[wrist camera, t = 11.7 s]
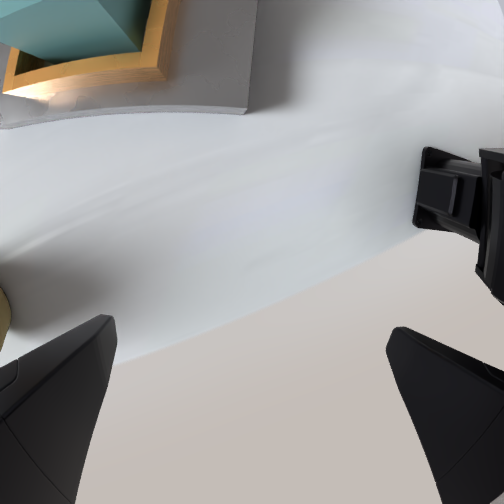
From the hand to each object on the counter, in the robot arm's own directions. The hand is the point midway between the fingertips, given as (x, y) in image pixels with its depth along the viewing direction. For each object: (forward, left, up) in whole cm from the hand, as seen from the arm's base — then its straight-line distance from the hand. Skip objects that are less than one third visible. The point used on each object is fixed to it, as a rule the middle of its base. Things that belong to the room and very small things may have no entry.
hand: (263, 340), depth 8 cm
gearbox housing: (+9, -14, -12) cm, 20 cm away
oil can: (+9, -14, -9) cm, 19 cm away
